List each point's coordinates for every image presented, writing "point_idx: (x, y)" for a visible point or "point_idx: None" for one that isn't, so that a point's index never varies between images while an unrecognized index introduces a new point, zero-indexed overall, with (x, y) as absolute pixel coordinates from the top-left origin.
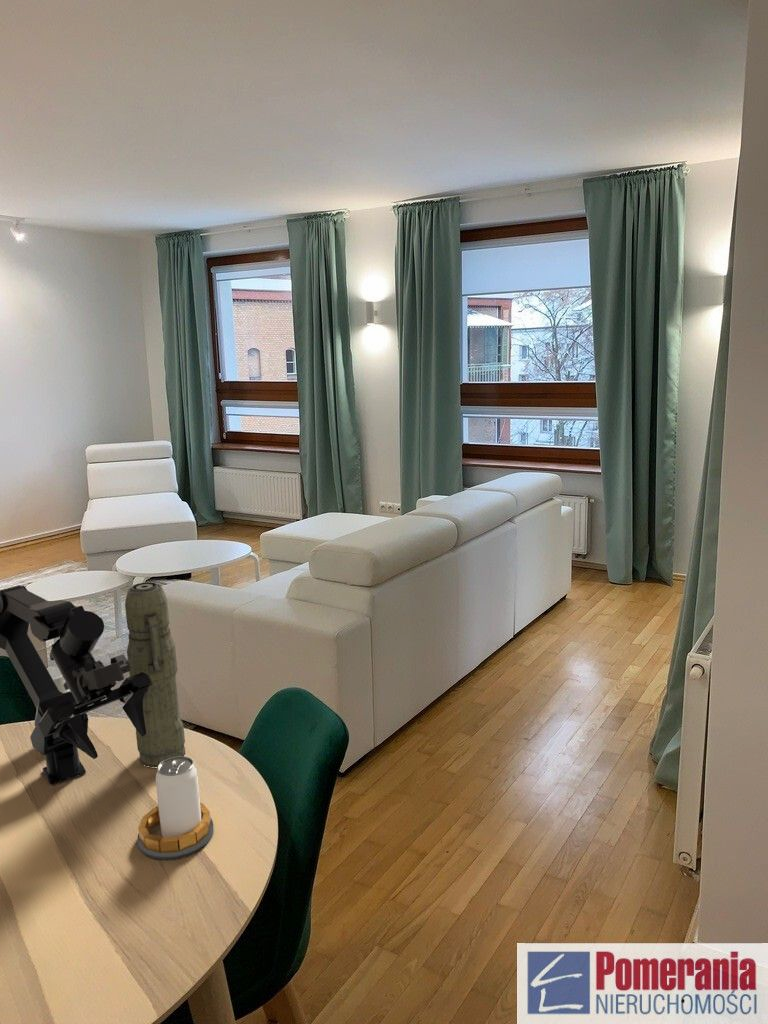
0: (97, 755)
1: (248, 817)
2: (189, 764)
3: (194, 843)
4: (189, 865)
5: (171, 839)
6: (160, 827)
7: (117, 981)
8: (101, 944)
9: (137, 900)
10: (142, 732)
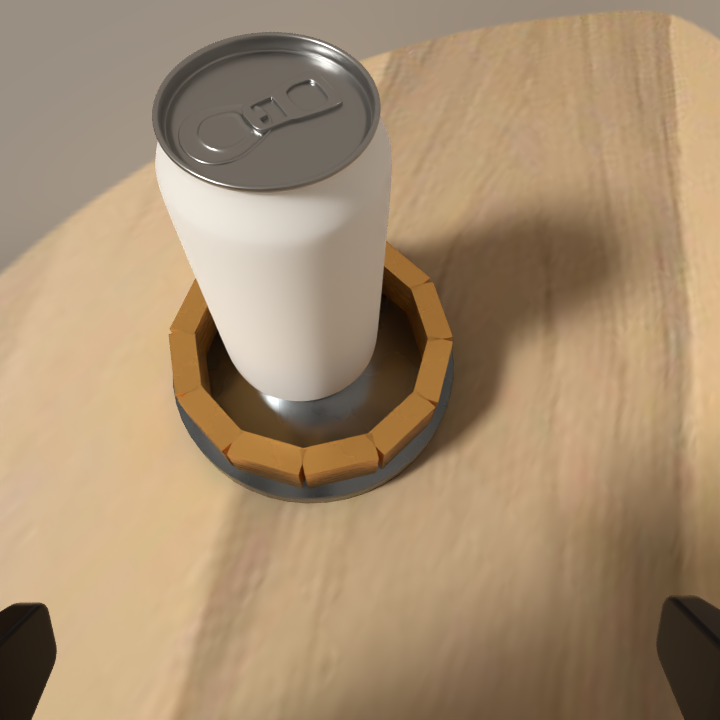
0: (673, 598)
1: (106, 259)
2: (202, 80)
3: None
4: None
5: (393, 259)
6: (335, 419)
7: (706, 96)
8: (702, 187)
9: (567, 234)
10: (29, 643)
